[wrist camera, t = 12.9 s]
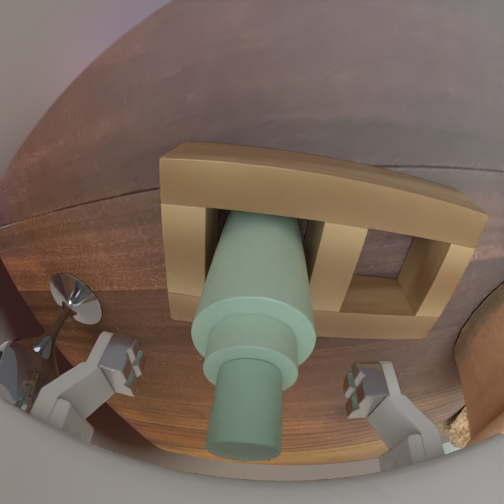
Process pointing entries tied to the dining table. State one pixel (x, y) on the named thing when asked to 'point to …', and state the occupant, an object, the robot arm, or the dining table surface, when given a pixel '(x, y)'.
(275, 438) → the bottle
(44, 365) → the wine glass
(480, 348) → the pottery
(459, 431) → the rough tan rock
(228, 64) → the dining table surface
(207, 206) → the hollow wooden block
